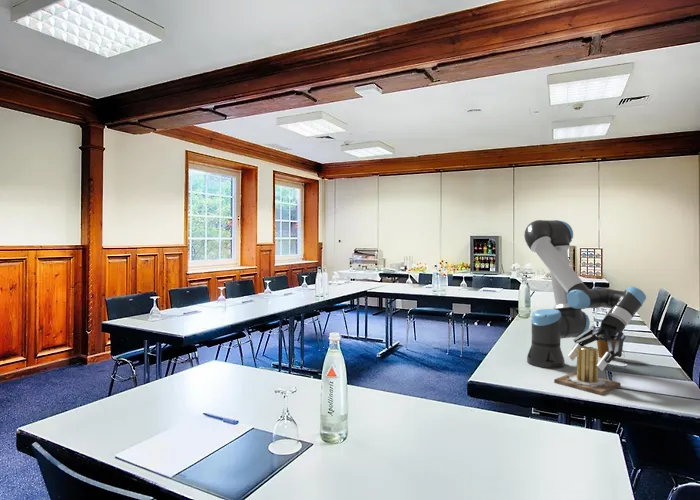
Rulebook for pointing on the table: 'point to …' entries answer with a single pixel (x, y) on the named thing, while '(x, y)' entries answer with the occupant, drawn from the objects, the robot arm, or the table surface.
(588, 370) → the brass pinion gear
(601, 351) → the disposable coffee cup
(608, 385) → the board
